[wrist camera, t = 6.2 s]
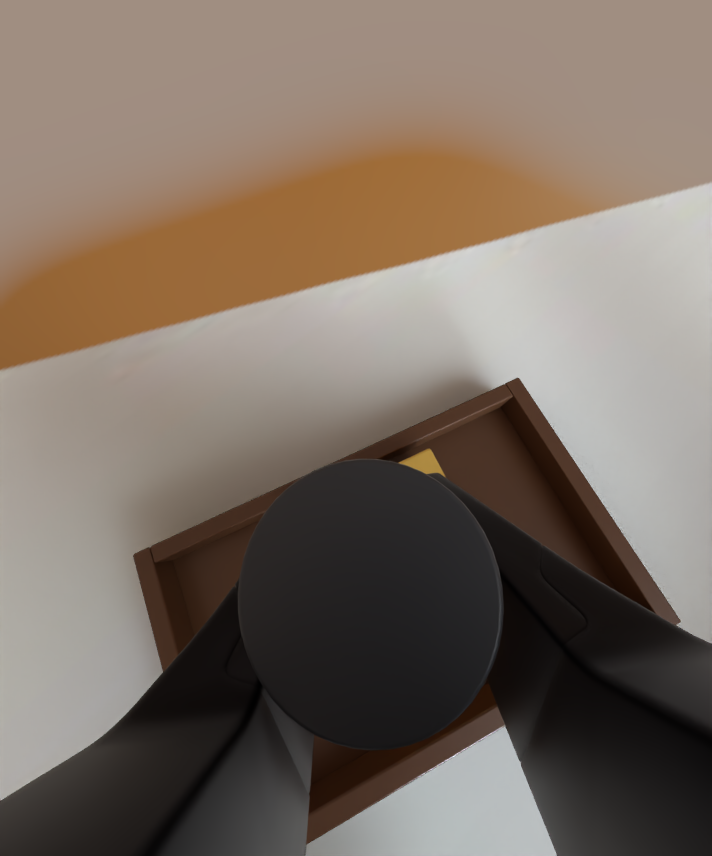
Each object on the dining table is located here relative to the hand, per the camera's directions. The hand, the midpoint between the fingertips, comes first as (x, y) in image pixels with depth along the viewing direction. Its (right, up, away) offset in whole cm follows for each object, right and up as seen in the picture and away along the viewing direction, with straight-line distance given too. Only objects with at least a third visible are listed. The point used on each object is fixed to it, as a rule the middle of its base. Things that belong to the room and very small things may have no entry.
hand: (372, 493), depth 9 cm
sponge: (+1, -3, +5) cm, 6 cm away
